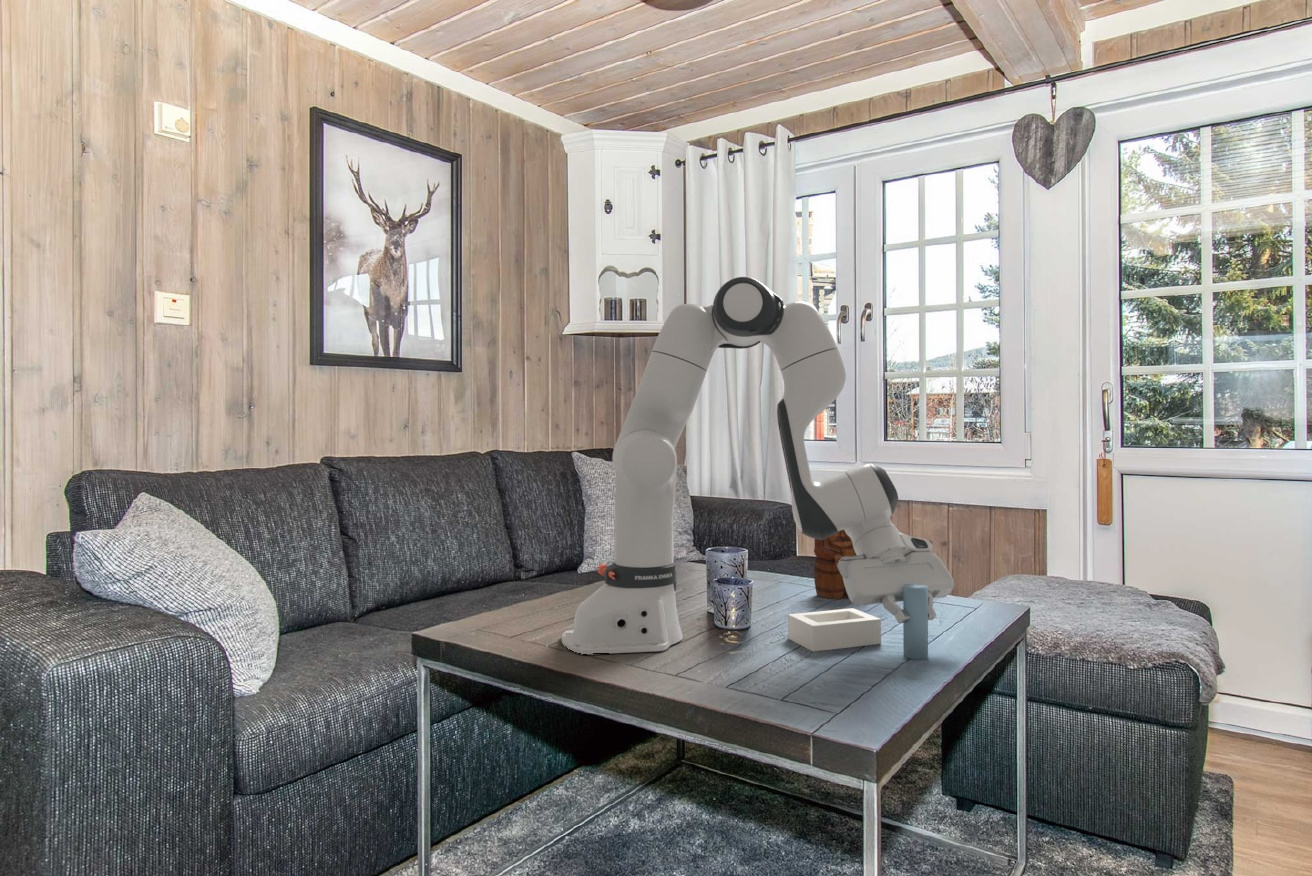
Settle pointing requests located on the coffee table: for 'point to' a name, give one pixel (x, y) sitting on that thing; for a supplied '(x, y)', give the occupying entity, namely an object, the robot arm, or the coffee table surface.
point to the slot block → (834, 629)
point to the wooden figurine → (831, 565)
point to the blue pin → (915, 622)
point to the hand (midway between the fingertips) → (918, 619)
